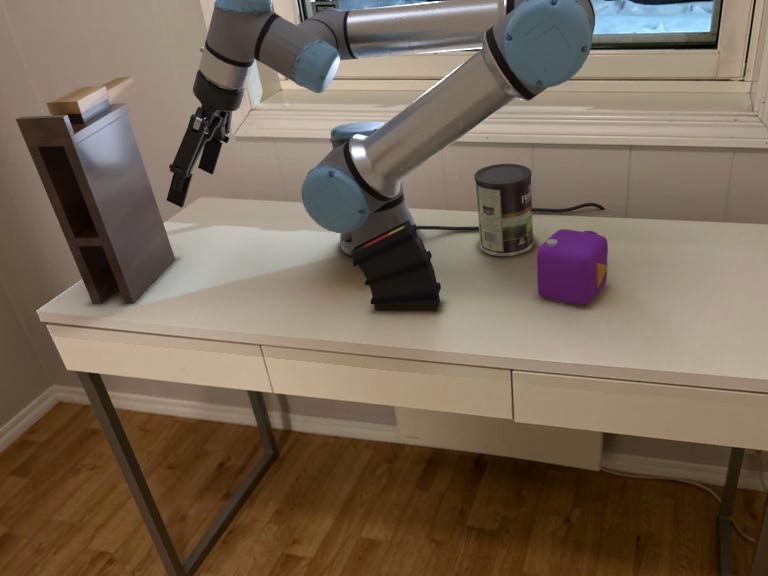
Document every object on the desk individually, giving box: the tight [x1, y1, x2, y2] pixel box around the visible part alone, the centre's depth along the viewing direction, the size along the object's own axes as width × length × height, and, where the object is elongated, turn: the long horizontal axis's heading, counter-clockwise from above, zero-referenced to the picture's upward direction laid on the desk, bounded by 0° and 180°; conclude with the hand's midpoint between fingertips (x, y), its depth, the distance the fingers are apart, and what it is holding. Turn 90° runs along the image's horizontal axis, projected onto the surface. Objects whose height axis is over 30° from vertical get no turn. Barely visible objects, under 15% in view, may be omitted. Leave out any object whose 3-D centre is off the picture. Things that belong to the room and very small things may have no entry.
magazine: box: [349, 220, 442, 312], centre depth 123 cm, size 4×13×15 cm, turn 83°
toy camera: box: [536, 228, 609, 306], centre depth 124 cm, size 11×14×10 cm
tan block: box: [45, 76, 138, 124], centre depth 130 cm, size 5×20×4 cm, turn 174°
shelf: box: [15, 102, 176, 304], centre depth 132 cm, size 8×18×33 cm, turn 174°
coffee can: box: [473, 163, 535, 257], centre depth 139 cm, size 10×10×14 cm
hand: (190, 186), depth 132 cm, fingers open, 13 cm apart
